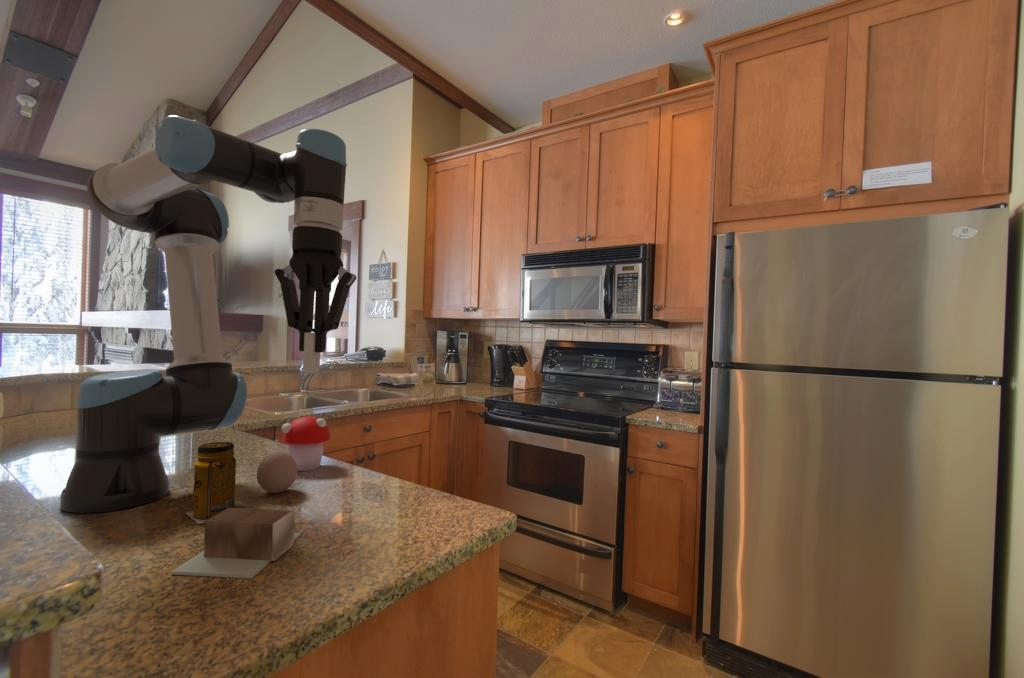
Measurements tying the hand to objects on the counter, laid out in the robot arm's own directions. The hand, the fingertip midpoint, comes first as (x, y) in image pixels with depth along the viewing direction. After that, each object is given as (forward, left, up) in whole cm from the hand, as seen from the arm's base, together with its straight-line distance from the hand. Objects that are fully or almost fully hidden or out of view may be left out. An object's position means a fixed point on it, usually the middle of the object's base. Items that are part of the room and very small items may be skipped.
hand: (311, 371), depth 76 cm
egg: (-13, +15, -26) cm, 32 cm away
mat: (-4, -10, -25) cm, 28 cm away
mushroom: (-16, +33, -26) cm, 44 cm away
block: (+2, -10, -22) cm, 25 cm away
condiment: (-17, +4, -26) cm, 31 cm away
